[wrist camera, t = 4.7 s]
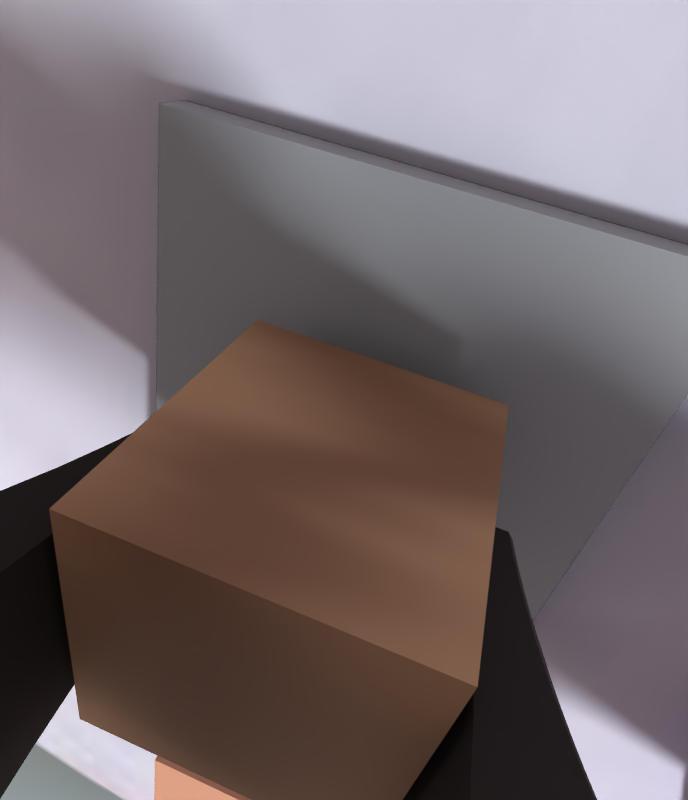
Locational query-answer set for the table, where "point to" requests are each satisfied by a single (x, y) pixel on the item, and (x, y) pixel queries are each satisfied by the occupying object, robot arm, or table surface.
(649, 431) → the baseplate
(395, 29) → the table surface
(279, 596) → the walnut block
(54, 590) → the robot arm
